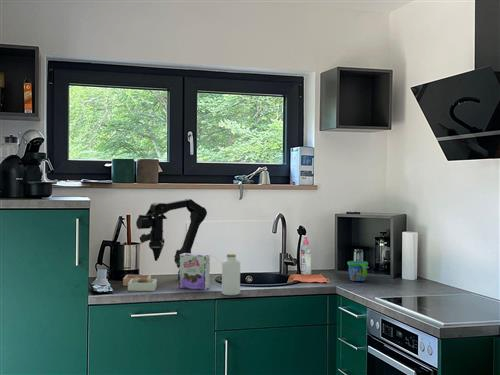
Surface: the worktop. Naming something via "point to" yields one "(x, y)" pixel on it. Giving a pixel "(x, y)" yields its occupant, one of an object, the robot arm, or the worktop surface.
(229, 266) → the potion bottle
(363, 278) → the snack cup
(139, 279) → the walnut block
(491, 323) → the worktop surface
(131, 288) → the cream dish
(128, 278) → the terracotta dish
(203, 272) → the candy box
